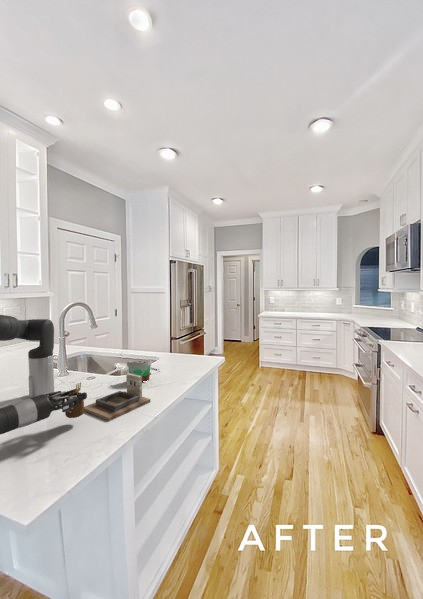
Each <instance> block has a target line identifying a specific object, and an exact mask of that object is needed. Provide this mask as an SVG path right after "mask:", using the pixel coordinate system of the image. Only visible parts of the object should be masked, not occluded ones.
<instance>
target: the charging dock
mask: <svg viewBox="0 0 423 599" xmlns="http://www.w3.org/2000/svg"><path fill="white" fill-rule="evenodd" d="M125 375H126V391H125V390H124V391H121V390H119V391H115V392H112V393H111V394H108V395H105V396H102V397H100V398H97V399H95V402H93V403H90V404H88V405H84V413H85V412H86V413H87V414H90V415H93V416H95V417H98V418H100V419H102V420H105V421H107V422H111V421H113V420H114V419H116V418H119V417H121V416H123V415H125V414H128V413H130V412H132V411H134V410H136V409H138V408H140V407H143V406H145V405H148V404H149V403H151V398H147V397H145V396H143V383H142V376H139V375H134V374H130V373H129V372H127V373H126V374H125Z"/></svg>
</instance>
